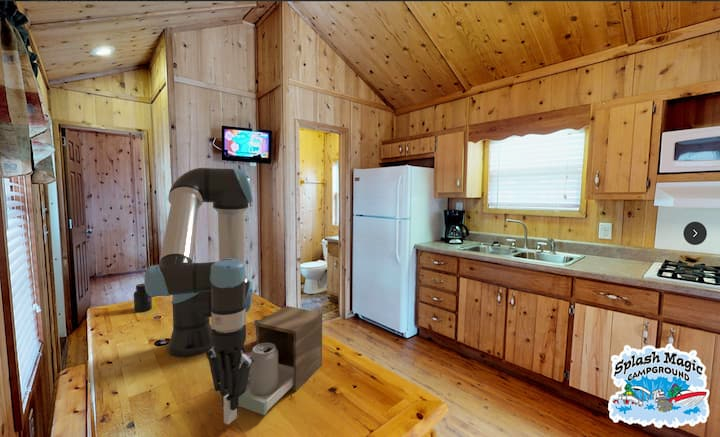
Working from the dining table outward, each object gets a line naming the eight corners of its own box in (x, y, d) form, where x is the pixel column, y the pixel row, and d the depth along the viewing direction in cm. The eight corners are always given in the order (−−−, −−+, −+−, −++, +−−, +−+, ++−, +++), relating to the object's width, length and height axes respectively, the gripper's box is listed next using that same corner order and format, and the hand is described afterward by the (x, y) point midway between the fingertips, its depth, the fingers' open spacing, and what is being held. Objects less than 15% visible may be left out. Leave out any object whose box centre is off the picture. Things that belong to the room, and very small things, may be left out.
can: (270, 399, 84) (270, 355, 83) (244, 394, 85) (244, 352, 84) (282, 382, 91) (282, 342, 90) (259, 378, 93) (258, 339, 91)
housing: (257, 379, 96) (256, 322, 94) (286, 356, 109) (286, 305, 108) (296, 391, 90) (296, 331, 89) (321, 365, 104) (322, 312, 103)
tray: (226, 401, 84) (226, 390, 83) (269, 367, 100) (269, 358, 99) (264, 415, 79) (264, 403, 79) (303, 377, 95) (303, 367, 95)
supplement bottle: (148, 306, 152) (147, 281, 151) (154, 309, 148) (153, 284, 147) (131, 310, 147) (130, 285, 146) (137, 313, 143) (136, 288, 142)
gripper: (195, 327, 74) (197, 422, 76) (238, 338, 69) (239, 439, 71) (220, 315, 80) (222, 402, 83) (261, 325, 76) (262, 417, 78)
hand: (230, 419), depth 77 cm, fingers closed
